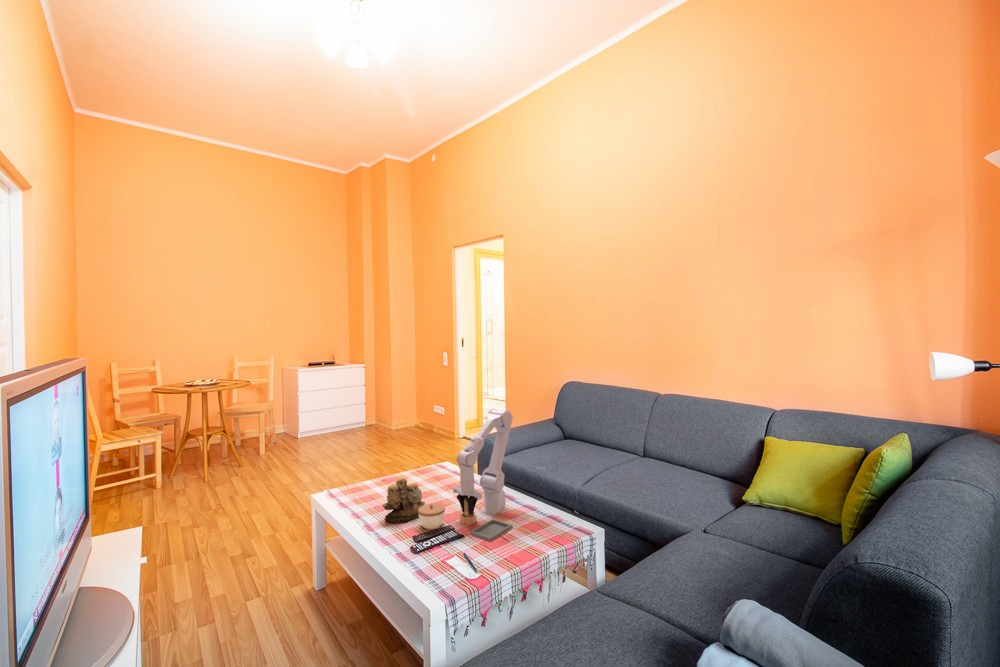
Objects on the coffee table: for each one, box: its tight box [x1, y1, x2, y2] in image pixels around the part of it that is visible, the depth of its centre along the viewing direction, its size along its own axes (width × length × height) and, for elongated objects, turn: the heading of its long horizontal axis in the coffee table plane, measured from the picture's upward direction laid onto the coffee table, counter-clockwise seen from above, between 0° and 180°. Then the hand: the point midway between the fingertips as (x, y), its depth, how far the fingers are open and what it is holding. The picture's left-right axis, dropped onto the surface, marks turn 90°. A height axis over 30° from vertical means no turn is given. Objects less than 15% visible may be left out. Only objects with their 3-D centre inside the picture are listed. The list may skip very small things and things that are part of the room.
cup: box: [459, 511, 477, 525], centre depth 193 cm, size 7×7×3 cm
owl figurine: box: [382, 477, 426, 525], centre depth 200 cm, size 18×12×17 cm, turn 118°
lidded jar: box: [418, 502, 446, 530], centre depth 189 cm, size 11×11×9 cm
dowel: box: [464, 498, 472, 517], centre depth 193 cm, size 3×3×9 cm
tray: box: [469, 518, 513, 542], centre depth 183 cm, size 14×10×2 cm
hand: (468, 512), depth 193 cm, fingers closed on dowel, 3 cm apart
